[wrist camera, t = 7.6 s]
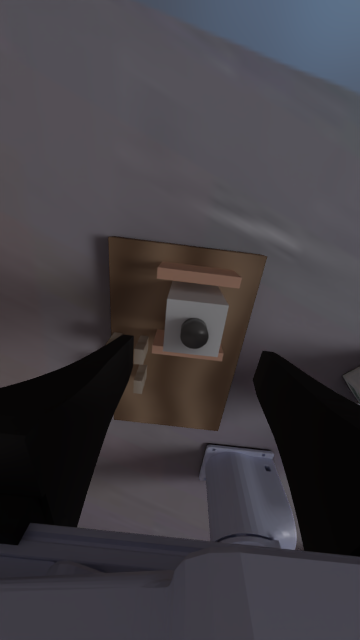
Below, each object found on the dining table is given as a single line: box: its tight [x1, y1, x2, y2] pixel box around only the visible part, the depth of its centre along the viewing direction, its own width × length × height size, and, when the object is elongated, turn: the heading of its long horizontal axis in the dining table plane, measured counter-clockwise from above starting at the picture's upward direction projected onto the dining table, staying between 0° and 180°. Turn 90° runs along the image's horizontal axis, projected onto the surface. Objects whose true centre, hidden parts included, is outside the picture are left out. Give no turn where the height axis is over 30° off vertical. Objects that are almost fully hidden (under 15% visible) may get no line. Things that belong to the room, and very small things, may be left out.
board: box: [105, 236, 267, 431], centre depth 20 cm, size 13×21×4 cm, turn 173°
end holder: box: [152, 261, 242, 361], centre depth 17 cm, size 6×7×3 cm
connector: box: [163, 281, 229, 357], centre depth 15 cm, size 4×4×6 cm
